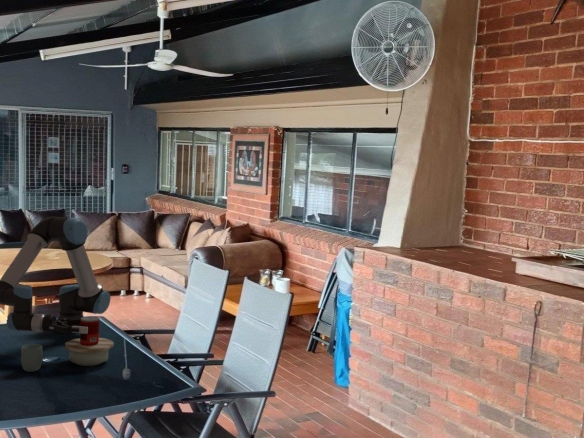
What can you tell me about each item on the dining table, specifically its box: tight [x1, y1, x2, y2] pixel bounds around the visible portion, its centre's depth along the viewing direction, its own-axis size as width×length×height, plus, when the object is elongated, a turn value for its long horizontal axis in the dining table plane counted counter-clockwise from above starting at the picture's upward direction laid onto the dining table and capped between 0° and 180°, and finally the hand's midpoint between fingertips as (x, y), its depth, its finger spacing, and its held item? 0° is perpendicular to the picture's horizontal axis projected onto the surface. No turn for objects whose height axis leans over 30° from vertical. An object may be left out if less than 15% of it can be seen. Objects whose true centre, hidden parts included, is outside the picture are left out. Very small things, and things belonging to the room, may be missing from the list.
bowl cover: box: [64, 337, 114, 353], centre depth 284 cm, size 20×20×1 cm
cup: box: [20, 343, 43, 373], centre depth 270 cm, size 8×8×10 cm
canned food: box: [79, 315, 100, 346], centre depth 284 cm, size 8×8×11 cm
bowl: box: [69, 349, 110, 367], centre depth 285 cm, size 16×16×7 cm
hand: (93, 326), depth 284 cm, fingers open, 13 cm apart
